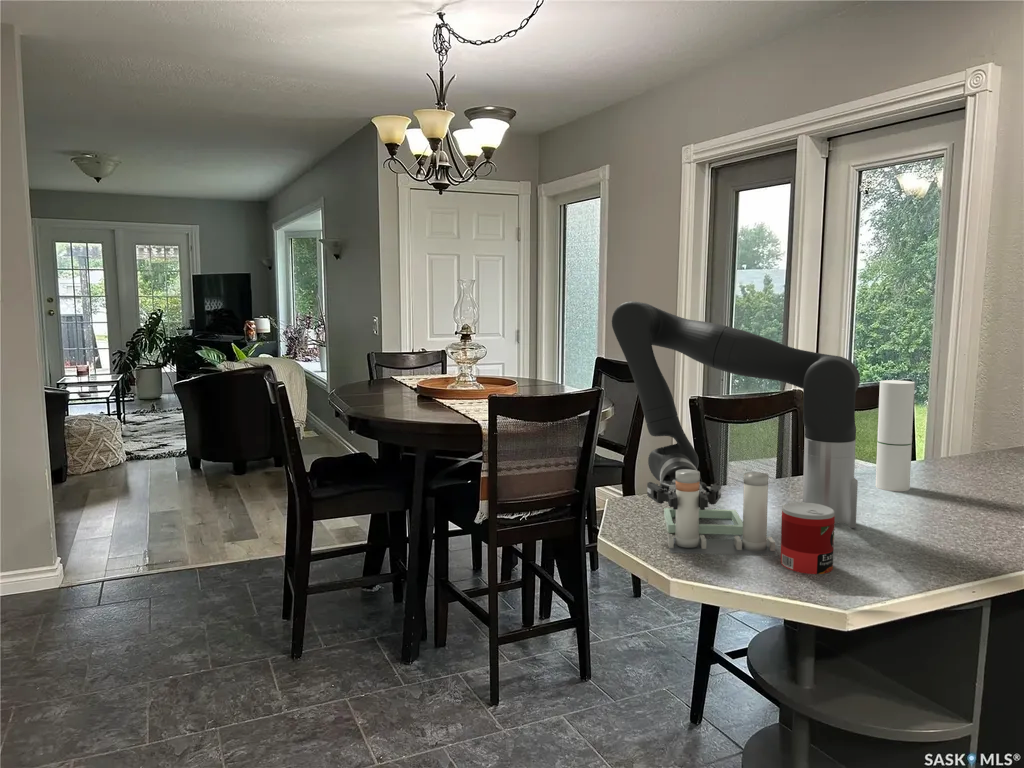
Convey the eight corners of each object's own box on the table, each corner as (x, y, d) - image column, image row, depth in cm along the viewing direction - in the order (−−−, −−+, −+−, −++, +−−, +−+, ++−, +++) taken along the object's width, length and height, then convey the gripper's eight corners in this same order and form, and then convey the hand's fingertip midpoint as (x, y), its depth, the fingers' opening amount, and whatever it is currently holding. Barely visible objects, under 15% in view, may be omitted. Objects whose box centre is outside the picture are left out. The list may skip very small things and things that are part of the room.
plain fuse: (764, 543, 130) (765, 472, 128) (769, 551, 126) (770, 477, 124) (740, 543, 130) (741, 471, 129) (744, 550, 126) (745, 477, 125)
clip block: (768, 548, 132) (768, 532, 132) (778, 564, 124) (778, 547, 124) (666, 545, 134) (666, 529, 134) (669, 560, 126) (670, 544, 126)
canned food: (828, 586, 114) (830, 518, 113) (775, 577, 118) (777, 510, 117) (836, 570, 121) (838, 505, 119) (785, 562, 125) (787, 499, 124)
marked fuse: (697, 540, 131) (698, 469, 130) (700, 548, 127) (701, 475, 126) (674, 539, 132) (674, 469, 130) (676, 547, 128) (676, 474, 126)
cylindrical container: (910, 486, 173) (915, 381, 170) (908, 492, 167) (913, 384, 164) (877, 482, 177) (881, 379, 174) (873, 489, 171) (878, 382, 168)
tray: (735, 524, 146) (735, 509, 146) (745, 542, 135) (745, 526, 135) (663, 522, 148) (663, 508, 148) (668, 540, 137) (668, 524, 137)
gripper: (643, 460, 143) (647, 482, 126) (717, 461, 141) (732, 483, 125) (643, 497, 144) (647, 524, 127) (717, 499, 142) (731, 526, 125)
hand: (689, 504), depth 126 cm, fingers closed on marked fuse, 4 cm apart
